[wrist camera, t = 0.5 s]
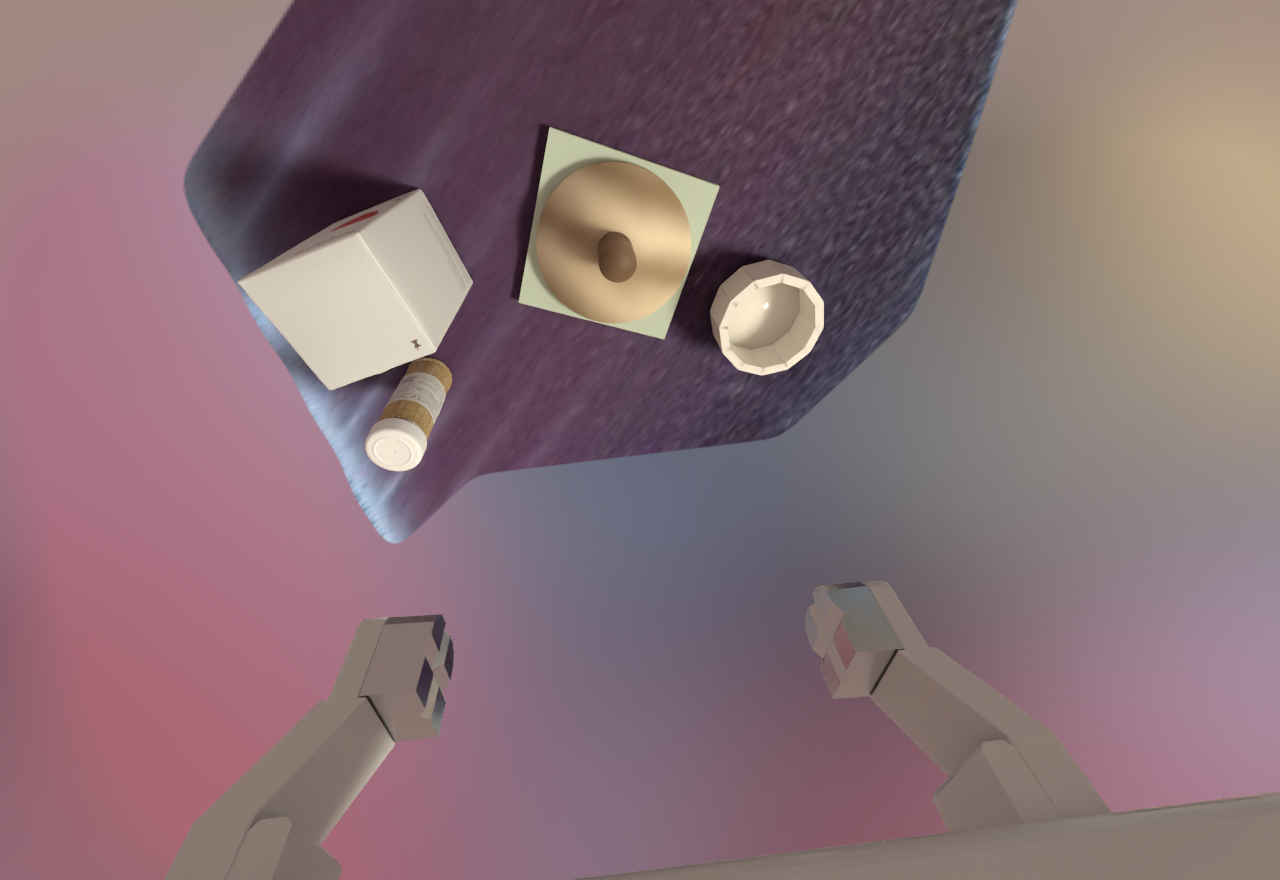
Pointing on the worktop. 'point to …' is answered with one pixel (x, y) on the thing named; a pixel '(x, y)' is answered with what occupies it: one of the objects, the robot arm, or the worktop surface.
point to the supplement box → (365, 290)
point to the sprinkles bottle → (409, 416)
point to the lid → (613, 242)
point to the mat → (578, 152)
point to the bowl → (766, 317)
